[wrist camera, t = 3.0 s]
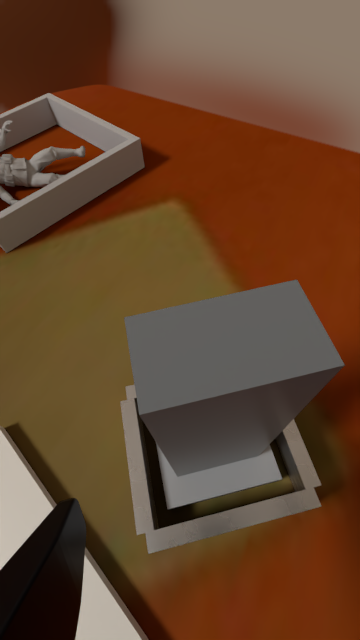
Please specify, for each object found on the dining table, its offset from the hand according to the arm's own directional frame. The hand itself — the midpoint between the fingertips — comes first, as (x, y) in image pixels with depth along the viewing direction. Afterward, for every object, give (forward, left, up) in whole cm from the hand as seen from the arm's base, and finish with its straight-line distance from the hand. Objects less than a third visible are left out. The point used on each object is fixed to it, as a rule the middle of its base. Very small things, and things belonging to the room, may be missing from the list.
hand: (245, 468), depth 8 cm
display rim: (+34, -9, -10) cm, 37 cm away
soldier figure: (+33, -8, -10) cm, 35 cm away
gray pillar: (+2, -1, -10) cm, 10 cm away
